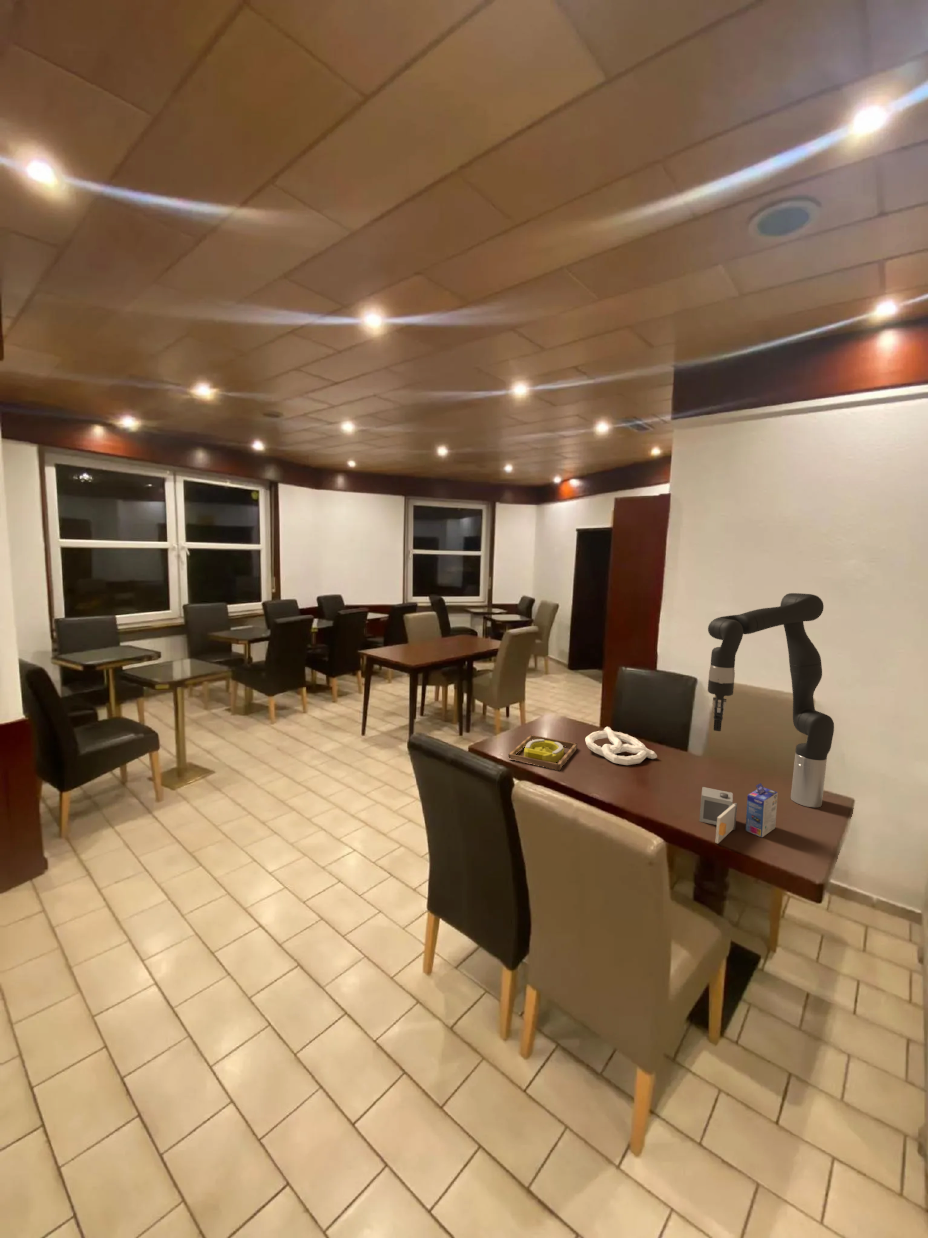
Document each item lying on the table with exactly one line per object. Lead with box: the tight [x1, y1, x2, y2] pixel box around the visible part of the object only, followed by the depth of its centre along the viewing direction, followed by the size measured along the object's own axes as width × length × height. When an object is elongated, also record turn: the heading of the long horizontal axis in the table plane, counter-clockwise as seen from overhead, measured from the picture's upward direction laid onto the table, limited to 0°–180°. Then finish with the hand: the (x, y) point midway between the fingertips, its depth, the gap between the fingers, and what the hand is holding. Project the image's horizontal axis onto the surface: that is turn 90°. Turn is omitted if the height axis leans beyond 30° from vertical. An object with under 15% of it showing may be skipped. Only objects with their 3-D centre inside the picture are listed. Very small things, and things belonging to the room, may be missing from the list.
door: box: [715, 802, 738, 844], centre depth 157 cm, size 2×14×8 cm, turn 133°
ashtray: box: [523, 739, 565, 763], centre depth 218 cm, size 16×21×5 cm
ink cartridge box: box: [745, 782, 779, 838], centre depth 161 cm, size 10×6×14 cm, turn 127°
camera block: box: [698, 786, 734, 826], centre depth 167 cm, size 7×9×10 cm
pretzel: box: [584, 726, 658, 766], centre depth 223 cm, size 28×24×6 cm
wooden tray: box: [508, 734, 578, 771], centre depth 221 cm, size 27×22×2 cm
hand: (717, 730), depth 168 cm, fingers closed
